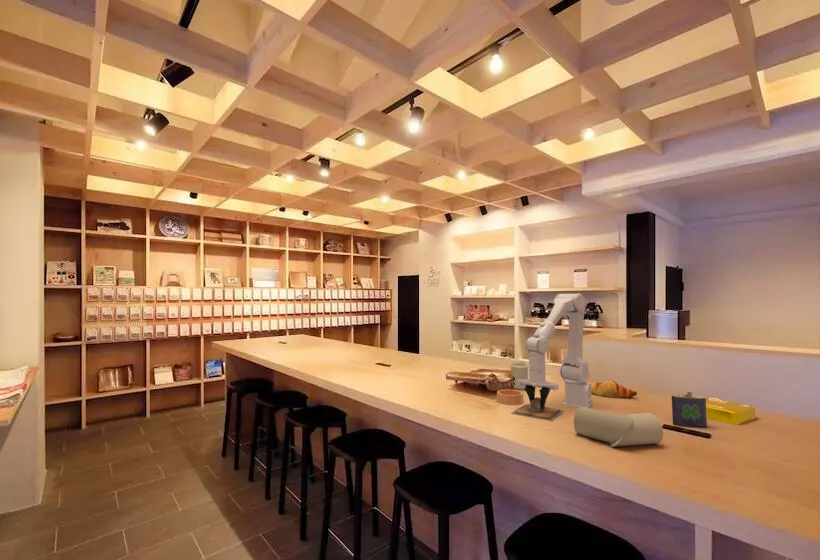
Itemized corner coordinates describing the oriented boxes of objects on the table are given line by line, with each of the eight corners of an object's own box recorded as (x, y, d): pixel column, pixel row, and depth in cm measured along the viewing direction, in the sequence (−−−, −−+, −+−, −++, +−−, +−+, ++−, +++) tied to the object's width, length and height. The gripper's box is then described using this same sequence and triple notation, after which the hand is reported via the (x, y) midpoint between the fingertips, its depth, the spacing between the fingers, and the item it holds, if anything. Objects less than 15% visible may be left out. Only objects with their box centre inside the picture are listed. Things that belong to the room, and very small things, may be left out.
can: (530, 390, 178) (529, 363, 178) (513, 390, 178) (513, 363, 178) (525, 386, 185) (525, 361, 186) (509, 386, 185) (509, 361, 186)
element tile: (687, 414, 142) (687, 401, 142) (708, 408, 149) (708, 395, 149) (737, 426, 129) (737, 411, 129) (758, 419, 136) (757, 405, 136)
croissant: (582, 401, 172) (579, 386, 169) (585, 386, 180) (583, 372, 177) (637, 407, 160) (635, 392, 157) (638, 391, 168) (636, 376, 165)
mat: (564, 412, 144) (564, 410, 144) (552, 422, 132) (552, 421, 132) (525, 405, 153) (525, 404, 153) (510, 414, 141) (510, 413, 141)
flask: (704, 425, 129) (703, 390, 129) (709, 428, 126) (708, 392, 126) (671, 423, 131) (669, 388, 131) (675, 426, 128) (674, 391, 128)
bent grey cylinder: (605, 451, 104) (670, 446, 108) (599, 410, 107) (662, 406, 111) (568, 442, 121) (625, 438, 125) (564, 407, 124) (619, 403, 128)
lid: (560, 411, 144) (559, 398, 144) (549, 419, 134) (549, 406, 134) (527, 405, 151) (527, 393, 151) (515, 413, 141) (515, 400, 141)
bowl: (526, 401, 158) (526, 391, 158) (517, 407, 150) (517, 396, 150) (503, 398, 164) (503, 388, 164) (493, 403, 156) (493, 393, 156)
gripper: (514, 369, 144) (514, 406, 144) (554, 373, 136) (554, 413, 135) (521, 366, 150) (521, 402, 149) (559, 370, 141) (560, 408, 141)
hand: (537, 407), depth 142 cm, fingers closed on lid, 3 cm apart
